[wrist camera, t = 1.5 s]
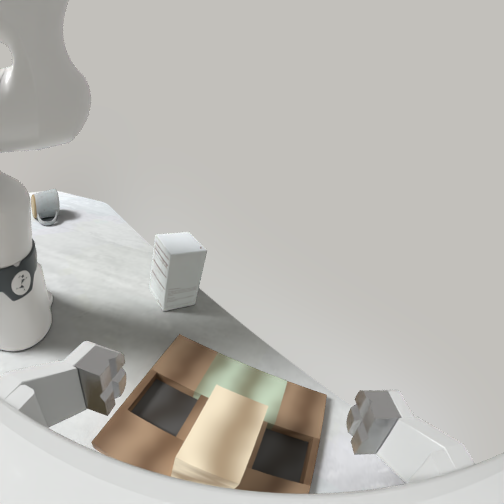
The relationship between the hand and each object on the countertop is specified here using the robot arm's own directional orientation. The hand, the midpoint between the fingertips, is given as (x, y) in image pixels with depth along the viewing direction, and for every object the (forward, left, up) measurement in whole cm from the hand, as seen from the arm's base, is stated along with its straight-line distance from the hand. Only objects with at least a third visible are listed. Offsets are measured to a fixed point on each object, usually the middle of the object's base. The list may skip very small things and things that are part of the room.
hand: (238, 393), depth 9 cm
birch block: (+1, +8, -27) cm, 28 cm away
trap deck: (+1, +14, -29) cm, 32 cm away
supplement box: (-19, +36, -29) cm, 50 cm away
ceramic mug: (-66, +40, -29) cm, 82 cm away
